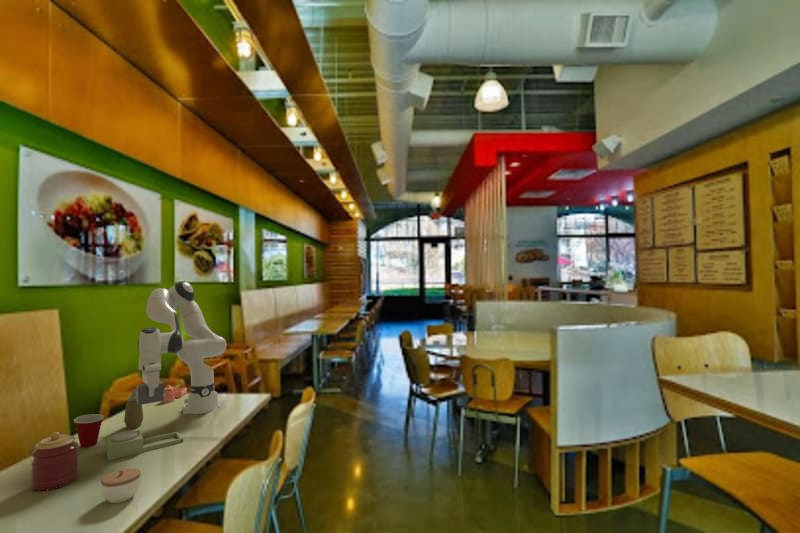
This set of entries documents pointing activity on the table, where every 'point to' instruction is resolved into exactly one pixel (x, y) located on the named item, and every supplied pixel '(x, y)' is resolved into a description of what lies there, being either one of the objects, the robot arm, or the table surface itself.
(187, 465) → the table surface
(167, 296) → the robot arm
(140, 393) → the tall grey box
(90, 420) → the plastic cup
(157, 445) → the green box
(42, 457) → the canister
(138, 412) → the squeeze bottle
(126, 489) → the lidded jar
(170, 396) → the pottery
